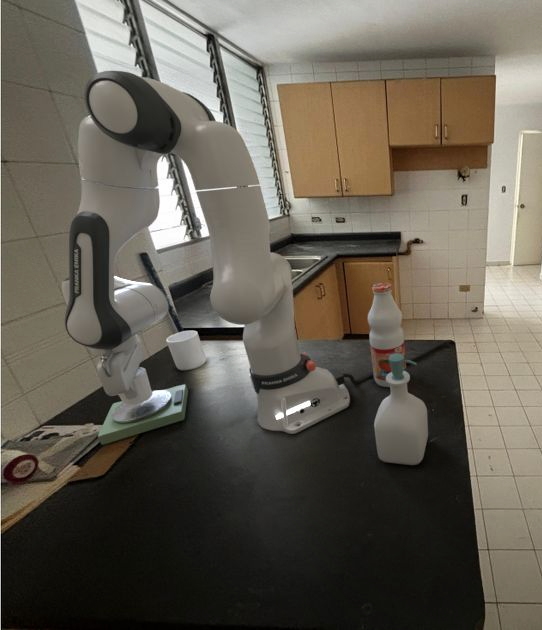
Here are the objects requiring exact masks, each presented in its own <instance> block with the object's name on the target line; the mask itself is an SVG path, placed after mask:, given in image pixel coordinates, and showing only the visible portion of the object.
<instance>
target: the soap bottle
mask: <svg viewBox="0 0 542 630" xmlns="http://www.w3.org/2000/svg"><path fill="white" fill-rule="evenodd" d="M389 362H390V367H391V371H392V372H391V373H389V374H388V375H387V376H386V382H387V383H388V384H390V387H389V388H390V394H389V395H388V396H386V397H385V398H384V399H383V400H382V401H381V402H380V405H379V406H378V409H377V412H376V415H375V418H374V422H373V427H374V436H375V445H376V451H377V456H378V459H379V460H380V461H381V462H383V463H389V464H398V465H405V466H408V465H409V466H416V465H419V464H420V463H421V462H422V461H423V459H424V456H425V452H426V446H427V442H428V439H429V427H428V425H429V424H428V409H427V406H426V404H425V402H424V401H423V400H422V399H420V398H419V397H417V396H415V395H414V394H411V393H409V391H408V383H409V381H410V380H411V375H410V373H409V372H408V371H407V370H406V371H407V372H406V371H403V364H404V362H405V363H408V364H411V365H414V366H417V365H418V363H417V362H415V361H410V360H409V359H406V360H404V356H403V355H402V354H392V355H390V356H389Z"/></svg>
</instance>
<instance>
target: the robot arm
mask: <svg viewBox="0 0 542 630" xmlns="http://www.w3.org/2000/svg"><path fill="white" fill-rule="evenodd" d="M83 94H84V95H83V96H84V104H85V107H86V108H85V109H86V110H87V113H88V116H86V117H84V118H83V119H82V120H81V122H80V123H79V128H78V137H77V138H78V139H77V140H78V141H77V155H78V156H77V157H78V169H79V175H80V185H81V196H80V203H79V207H78V210H77V213H76V215H75V217H74V218H73V219H72V221H71V224H70V227H69V234H68V272H69V273H68V277H66V278H65V279H63V280H62V281H61V292H62V297H63V299H64V302H65V305H66V309H65V314H64V327H65V330H66V332H67V334H68V336H69V337H70V338H71V339H72V340H73V341H74V342H76V343H77V344H79V345H81V346H84V347H86V348H87V351H88V353H89V354H90V355H91V356H94V357H99V358H100V359H99V362H98V363H97V365H96V372H97V376H98V378H99V382H100V383H101V386H102V388H103V391H104V392H105V394H106V395H107V396H109V397H113V396H119V395H118V394H122V393H124V394H125V396H126V398H127V399H133V398H136V396H137V393H136V391H135V390H134V388H133V387H132V381H133V379H134V377H135V374H136V372H137V370H138V367H140V364H141V363H142V360H143V357H144V349H143V346H142V342H141V339H140V336H139V333H141V332H142V331H145V330H147V329H148V328H149V327H151V326H152V325H154V324H156V323H158V322H160V321H161V320H163V318H165V317H166V316H167V315H168V314H169V311H170V302H169V299H168V297H167V295H166V293H165V292H164V291H163V290H162V289H161V288H160V287H158V286H157V285H155V284H153V283H150V282H146V281H141V282H140V281H133V280H130V279H125V278H122V277H119V276H116V275H115V267H116V266H115V264H116V259H117V258H118V257H117V256H118V255H119V253H120V251H121V250H122V248H124V246H125V245H126V244H127V243H129V242H130V241H131V240H132V239H133V238H134V237H136V236H137V235H138V234H140V233H142V232H143V231H145V230H146V229H148V228H149V227H150V226H151V225H153V223H154V222H156V220H157V219H158V216H159V210H160V204H161V199H160V187H159V178H158V177H159V176H158V163H159V160H160V159H161V158H162V157H163V156H165V155H170V156H172V157H176V156H177V158H179V159H180V160H181V161H182V162H183V163H184V164H185V165H186V167H187V169H188V172H189V174H190V178H191V181H192V184H193V188H194V190H195V194H196V196H197V199H198V202H199V205H200V208H201V212H202V214H203V218H204V221H205V224H206V227H207V232H208V235H209V240H210V248H211V260H212V261H211V263H212V273H213V278H212V279H213V282H212V287H211V291H210V295H209V296H210V297H209V300H210V305H211V307H212V309H213V310H214V312H215V314H217V316H218V317H220V318H221V319H222V320H224V321H225V322H228V323H230V324H233V325H238V326H239V325H240V326H243V332H242V343H243V346H244V349H245V354H246V357H247V360H248V365H249V378H250V381H251V384H252V385H251V386H252V388H253V390H254V392H255V393H256V399H257V418H256V420H257V423H258V425H259V427H261V428H263V429H264V430H267V431H273V432H284V433H287V434H289V435H295V434H298V433H299V432H302V431H303V430H305V429H308V428H310V427H311V426H313V425H315V424H318V423H319V422H322V421H324V420H325V419H328V418H329V417H331V416H333V415H335V414H337V413H339V412H341V411H343V410H345V409H347V408H348V407H350V403H351V396H350V395H351V394H350V392H349V389H348V388H347V387H346V385H345V384H346V381H345V378H347V379H348V378H349V379H350V382H351V383H352V384H356V385H357V384H360V383H362V382H364V381H367V380H369V379H371V378H372V377H374V374H373V371H372V372H371V373H369V374H368V375H366V376H364V377H363V378H361V379H355V378H354V376H353V374H351V373H342V372H341V371H340V370H339V369H338V368H337V367H334V368H331V369H329V370H328V369H327V368H323V367H319V366H317V365H316V363H315V362H314V361H313V360H311V357H310V356H309V355H307V353H306V352H305V351H303V352H302V353H301V352H300V347H299V341H298V336H297V332H296V324H295V306H294V305H295V304H294V303H295V302H294V292H293V291H294V290H293V269H292V265H291V264H290V262H289V261H288V260H287V259H286V258H285V257H284V256H282V255H281V254H279V253H276V252H271V240H270V237H271V235H270V232H271V222H270V218H269V215H268V211H267V206H266V202H265V200H264V196H263V191H262V187H261V185H260V180H259V176H258V173H257V170H256V167H255V164H254V162H253V159H252V157H251V154H250V151H249V150H248V149H249V148H247V145H246V143H245V141H244V138H243V137H242V135H241V133H240V132H239V131H238V130H237V129H236V128H235V127H233V126H231V125H229V124H227V123H225V122H221V121H217V120H216V118H215V116H214V114H213V113H212V111H211V109H209V108H208V106H207V105H206V104H205V103H203V102H202V101H201V100H199V98H197V97H195V96H193V95H192V94H190V93H187V92H184V91H181V90H180V89H177V88H174V87H173V86H170V85H169V84H167V83H165V82H162V81H159V80H156V79H153V78H149V77H146V76H145V77H143V76H140V75H137V74H135V73H132V72H130V71H129V72H128V71H123V70H122V71H121V70H104V71H100V72H97V73H95V74H93V75H92V76H91V77H90V78H89V79H88V81H87V82H86V84H85V88H84V93H83ZM445 341H450V342H445ZM453 342H454V343H453ZM450 343H451V344H453V345H454V344H456V342H455V341H454V339H446V340H444V341H442V342H441V343H438V344H435V345H434V346H433V347H430V348H429V349H427V350H425V351H424V352H422V353H420V354H418V355H416V356H413V357H412V358H409V359H408V360H410V361H413V362H415V361H417V360H419V359H421V358H423V357H425V356H427V355H429V354H430V353H432V352H434V351H435V350H437V349H439V348H441V347H443V346H445V345H446V344H450ZM408 364H409V363H406V365H408Z"/></svg>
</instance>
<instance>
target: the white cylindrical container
mask: <svg viewBox="0 0 542 630" xmlns="http://www.w3.org/2000/svg"><path fill="white" fill-rule="evenodd" d="M132 387H133V388H134V390H135V391H136V393H137V396H136V398H133V399H127V398H126V396H125V394H124V393H122V394H118V395H117V396H118V397H119V398H120V400H121V401H123V403H124V404H125V405H127V406H132V405H136V404H139V403H142V402H144V401H146V400H148V399H149V398H150V397H151V396H152V391H153V390H152V388H151V384H150V380H149V377H148V372H147V369H146V368H144V367H142V366H141V367H140V366H139V367H138V370H137V372H136V374H135V377H134V379H133V381H132Z"/></svg>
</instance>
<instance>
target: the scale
mask: <svg viewBox="0 0 542 630" xmlns="http://www.w3.org/2000/svg"><path fill="white" fill-rule="evenodd" d="M163 390H164V391H168V392H169V393H170V394H171V396H172V398H171V401H170V402H169V403H168V405H167V406H165V407H164V408H163V409H161V410H160V411H158V412H157V413H155V414H153V415H151V416H148V417H146V418H143V419H140V420H137V421H133V422H127V423H118V422H115V421H113V420H112V417H111V414H112V412H113V410H114V409H115V408H116V407H117V406H119V405H120V404H121V403H123V401H122V400H121V401H117V402H113V403H112V405H111V406H110V409H109V411H108V413H107V415H106V417H105V420H104V422H103V424H102V426H101V428H100V430H99V432H98V433H97V438H98V441H99V442H100V444H101V446H103V445H106V444H111V443H114V442H116V441H120V440H123V439H126V438H129V437H133V436H136V435H139V434H141V433H142V434H143V433H146V432H149V431H152V430H155V429H158V428H161V427H166V426H168V425H172V424H175V423H177V422H180V421H184V420H185V418H186V410H187V405H188V397H189V396H188V395H189V389H188V386H187V384H186V383H184V384H183V383H182V384H180V385H176V386H173V387H169V388H165V389H163Z"/></svg>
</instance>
